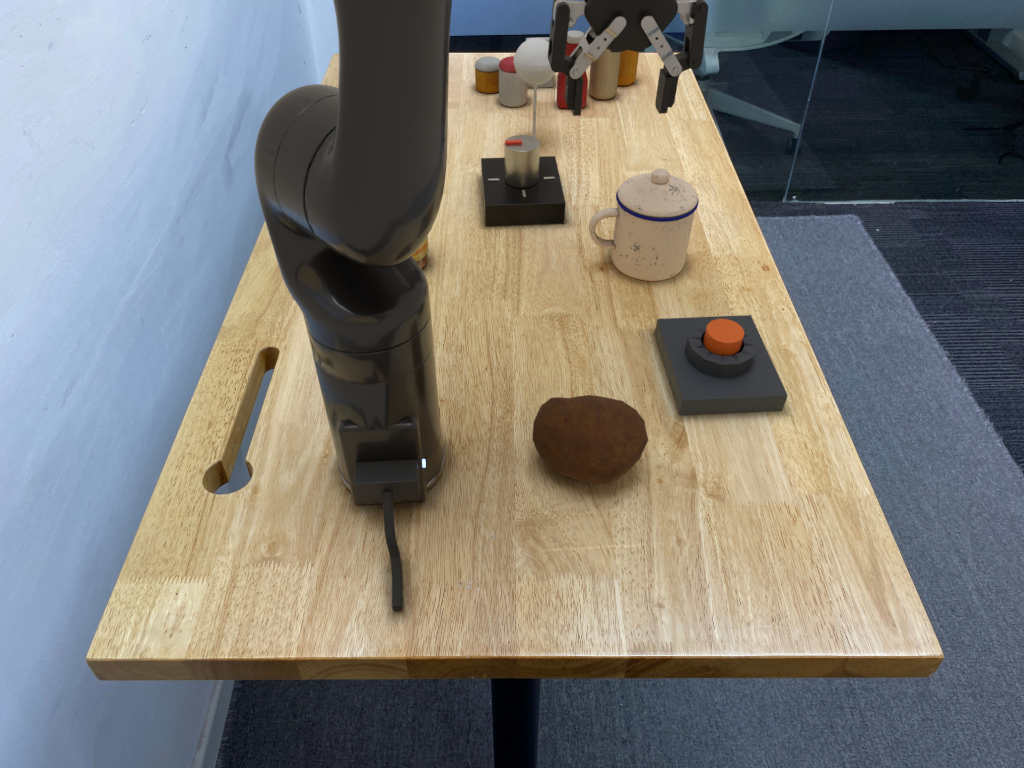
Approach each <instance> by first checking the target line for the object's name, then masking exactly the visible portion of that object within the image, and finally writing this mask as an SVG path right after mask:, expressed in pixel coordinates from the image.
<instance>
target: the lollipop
mask: <svg viewBox="0 0 1024 768" xmlns="http://www.w3.org/2000/svg"><path fill="white" fill-rule="evenodd" d="M531 38H532V39H529V40H526V39H525V41H524V42H522V43H521V44H520V45H519V47H518V48H517V49H516V52H515V53H514V55H513V56H514V60H513V62H514V66H515V69H516V72H517V74H518V76H519V77H520V78H521V79H522V80H523V81H524V82H526V83H528V84H531V85H534V88H533V101H532V102H533V103H532V136H533V137H535V138H537V137H536V136H537V106H538V105H537V101H538V88H537V85H541V84H544V83H546V82H547V81H549V80H550V79H551V78H552V77H553V75H554V76H555V74H556V72H553V71H552V69H551V66H550V63H549V60H548V47H549V42H548V41H546V40H544V39H541V38H537V37H531Z"/></svg>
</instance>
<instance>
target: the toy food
mask: <svg viewBox="0 0 1024 768" xmlns="http://www.w3.org/2000/svg"><path fill="white" fill-rule="evenodd" d="M584 34H585V33H584V32H583V31H581V30H576V29H575V30H573V29H572V30H568V35H567V43H566V52H565V55H567V56H570V55H571V54H572V52H573V51H574V50H575V49H576V47H577V46H578V45H579V42H580V40H581V38H582V37H583V35H584ZM549 37H550V36H549ZM549 37H547V36H546V37H545V36H544V37H542V36H541V37H538V36H537V37H536V38H541V39H544V40H546V41H548V42H549ZM532 38H533V37H526V38H525V41H526V40H529V39H532ZM639 54H640V52H635V51H631V50H625V51H622V52H611V51H610V50H608V49H605V51H604V52H603V53H602V54H601V55H600V57H599V58H598V59H597V60H596V61H595V62H592V63H591V65H590V66H589V67H590V68H589V78H588V74H587V70H586V71H585V72H584V73H583V74H582V77H583V79H584V81H583V94H582V107H581V109H582V108H585V107H586V105H587V98H588V92H589V94H590V96H591V97H593V98H594V99H596V100H597V99H598V100H609V99H612V98H613V97H615V96H616V94H617V91H618V86H629V85H632V84H634V83H635V81H636V79H637V72H638V64H639V56H640V55H639ZM513 60H514V55H513V56H512V55H510V56H505V57H503V58H501V59H500V58H498V57H495V56H481V57H479V58H477V59H476V61H475V62H474V65H473V66H474V78H475V79H474V81H475V89H476V90H477V91H478V92H480V93H484V94H494V93H498V101H499V103H500V104H501V105H503V106H505V107H508V108H509V107H510V108H517V107H522V106H524V105H526V104H527V102H528V92H529V91H528V89H534V85H531V84H528V83H526V82H524V81H523V80H522V79H521V78H520V77H519V76H518V74H517V72H516V69H515V66H514V62H513ZM554 85H555V74H554V75H553V77H552V78H551V79H550V80H549V81H547V82H546V83H544V84H541V85H537V89H538V88H554ZM565 85H566V75H565V74H564V73H561V72H558V73H557V77H556V104H557V106H558V108H560V109H568V107H567V104H566V101H565Z"/></svg>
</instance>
